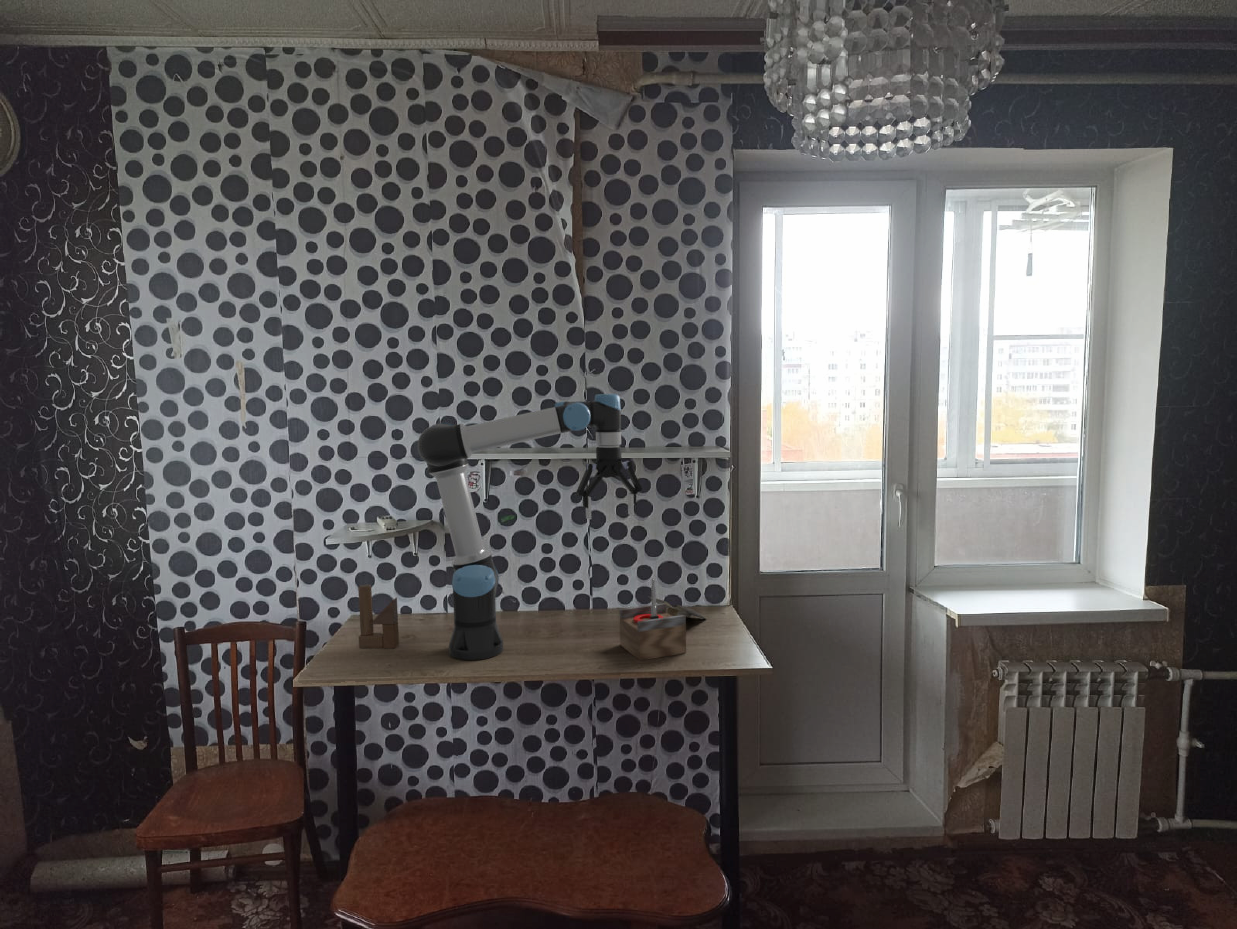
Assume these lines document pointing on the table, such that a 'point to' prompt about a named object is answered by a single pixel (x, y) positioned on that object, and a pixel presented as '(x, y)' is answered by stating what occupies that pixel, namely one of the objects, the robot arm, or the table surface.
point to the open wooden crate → (652, 633)
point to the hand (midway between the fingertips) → (610, 516)
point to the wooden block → (377, 622)
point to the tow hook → (653, 607)
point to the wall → (679, 610)
